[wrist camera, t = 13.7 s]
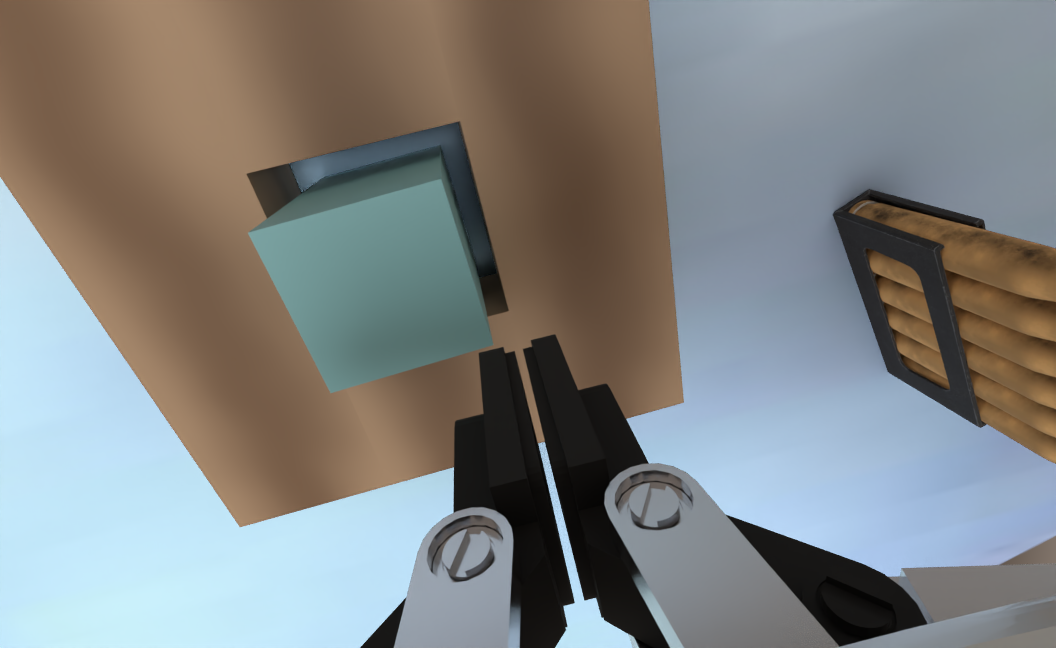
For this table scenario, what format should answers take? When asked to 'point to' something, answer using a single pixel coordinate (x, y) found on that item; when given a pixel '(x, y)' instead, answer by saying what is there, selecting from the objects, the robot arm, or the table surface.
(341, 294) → the peg
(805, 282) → the table surface
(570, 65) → the socket block
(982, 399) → the ammunition clip
